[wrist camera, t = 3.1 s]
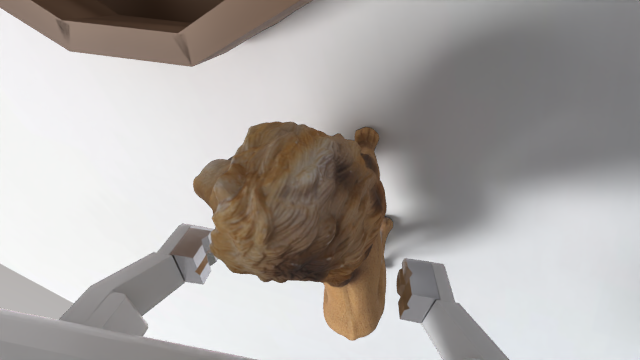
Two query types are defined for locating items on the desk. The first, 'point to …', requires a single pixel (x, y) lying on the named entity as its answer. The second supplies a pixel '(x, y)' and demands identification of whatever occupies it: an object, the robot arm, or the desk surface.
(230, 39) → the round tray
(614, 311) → the desk surface
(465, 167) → the desk surface
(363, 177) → the lion figurine
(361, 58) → the desk surface
